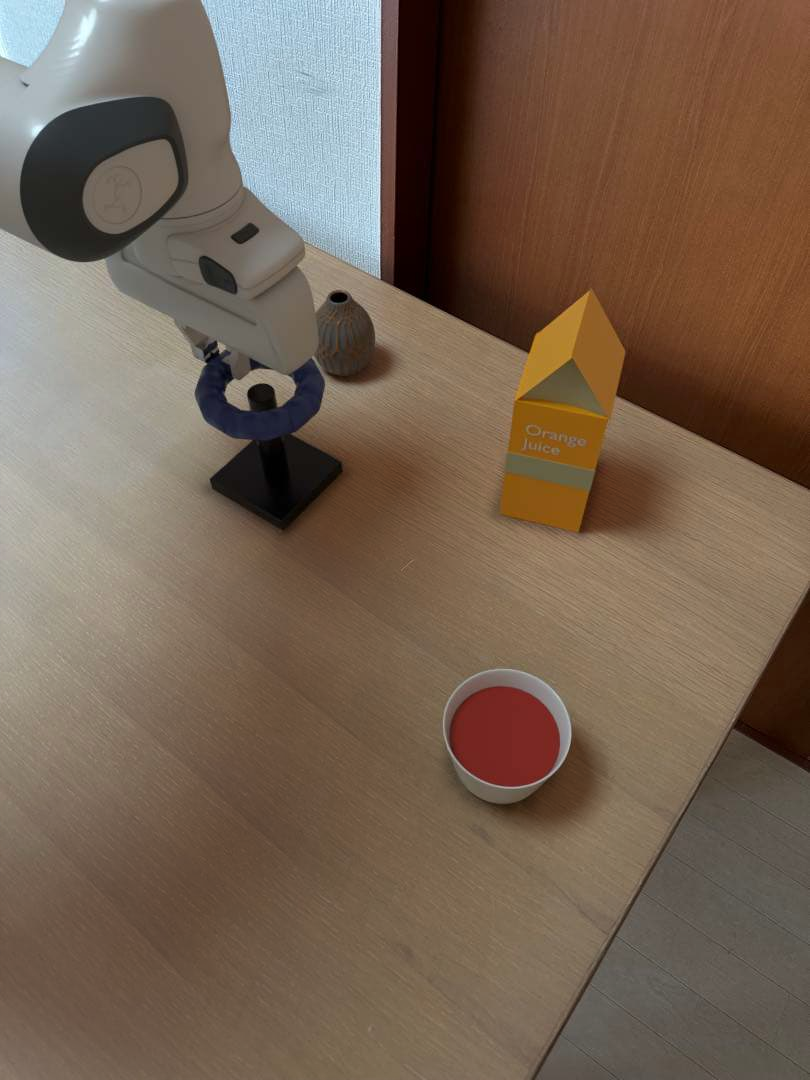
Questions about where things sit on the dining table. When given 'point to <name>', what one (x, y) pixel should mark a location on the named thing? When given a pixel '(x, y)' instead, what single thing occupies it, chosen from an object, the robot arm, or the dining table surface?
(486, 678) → the candle
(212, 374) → the ring
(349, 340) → the vase
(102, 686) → the dining table surface
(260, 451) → the black post stand
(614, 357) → the orange juice
